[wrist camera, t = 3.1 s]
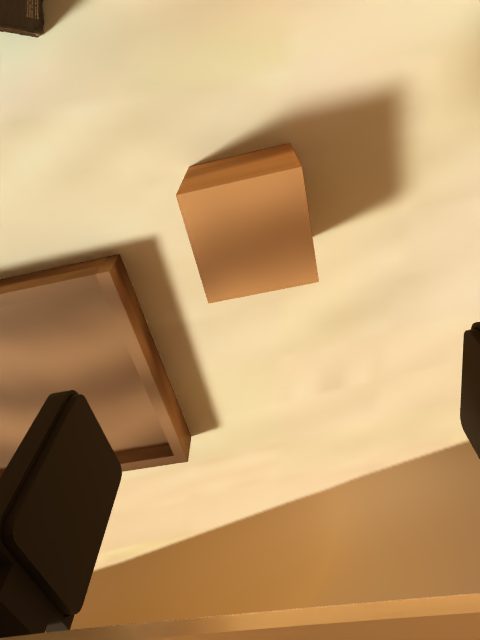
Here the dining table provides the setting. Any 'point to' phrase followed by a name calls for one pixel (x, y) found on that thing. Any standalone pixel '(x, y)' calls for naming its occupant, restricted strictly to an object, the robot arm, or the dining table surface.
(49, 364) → the walnut tray
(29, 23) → the small box
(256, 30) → the dining table surface
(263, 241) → the walnut cube
